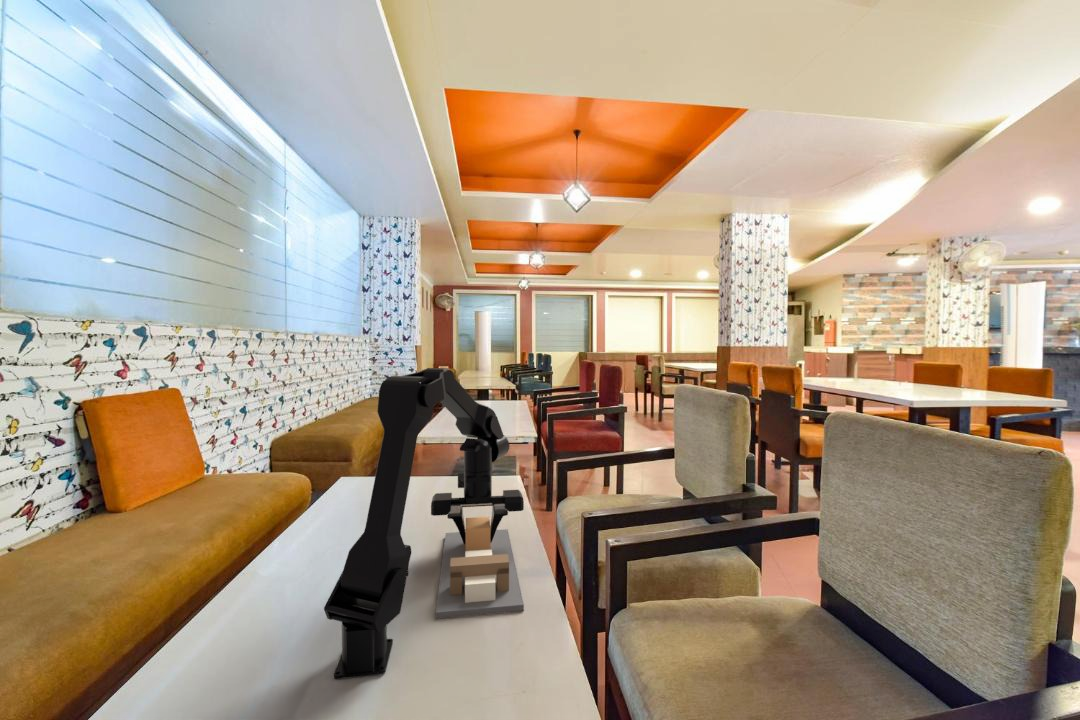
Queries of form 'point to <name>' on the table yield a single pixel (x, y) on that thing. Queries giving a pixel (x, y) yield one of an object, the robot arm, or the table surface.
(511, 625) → the table surface
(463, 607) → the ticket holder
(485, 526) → the peach cube cap
